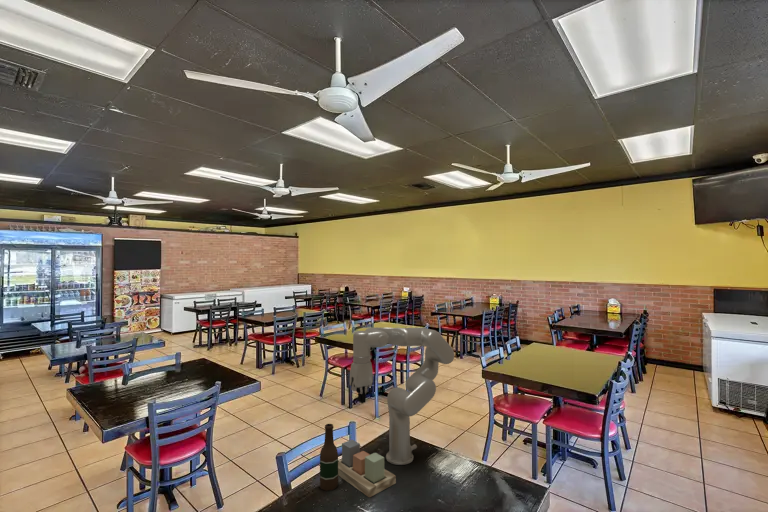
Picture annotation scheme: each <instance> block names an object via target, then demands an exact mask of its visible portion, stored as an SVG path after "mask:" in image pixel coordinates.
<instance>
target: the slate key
mask: <svg viewBox="0 0 768 512" xmlns="http://www.w3.org/2000/svg"><path fill="white" fill-rule="evenodd" d="M359 452H361V444H360V443H359V442H357V441H356V440H353V439H350V440H347V441H345V442H343V443H341V459H342V462H343V463H344V464H346V465H347V467H349V468H350V467H353V455H355V454H357V453H359Z"/></svg>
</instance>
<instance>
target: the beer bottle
mask: <svg viewBox="0 0 768 512" xmlns="http://www.w3.org/2000/svg"><path fill="white" fill-rule="evenodd" d="M338 460H339V452H338V448H337V445H336V444H335V443H334V423H333V424H332V423H326V424H325V425H324V443H323V446H322V447H321V449H320V451H319V486H320V488H319V489H321V490H322V491H326V492H329V491H334V490H335V489H337V488H338V486H339V476H338Z"/></svg>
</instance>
